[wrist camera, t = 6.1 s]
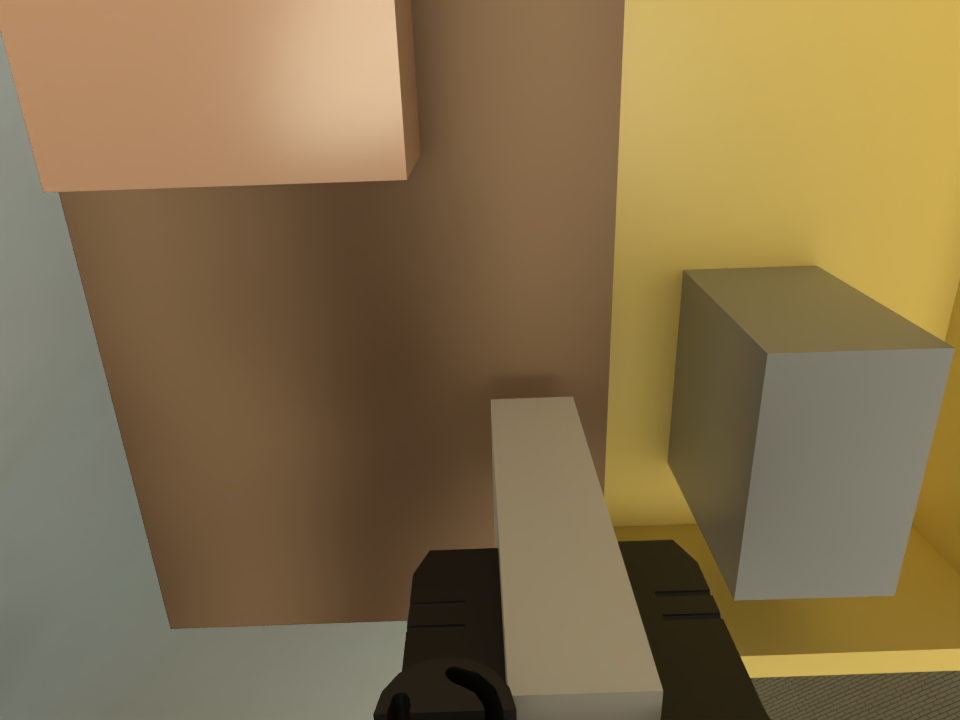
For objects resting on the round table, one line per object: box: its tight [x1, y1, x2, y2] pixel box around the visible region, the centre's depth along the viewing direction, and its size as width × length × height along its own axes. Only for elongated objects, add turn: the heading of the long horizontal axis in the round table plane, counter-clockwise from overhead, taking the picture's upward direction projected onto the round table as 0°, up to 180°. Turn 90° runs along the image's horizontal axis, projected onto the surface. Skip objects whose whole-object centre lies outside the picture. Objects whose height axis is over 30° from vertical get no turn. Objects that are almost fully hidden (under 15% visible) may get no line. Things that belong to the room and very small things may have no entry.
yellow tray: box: [604, 0, 960, 678], centre depth 14 cm, size 9×18×5 cm, turn 2°
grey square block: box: [667, 266, 955, 600], centre depth 15 cm, size 5×5×3 cm
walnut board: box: [59, 0, 625, 629], centre depth 15 cm, size 10×18×3 cm, turn 2°
